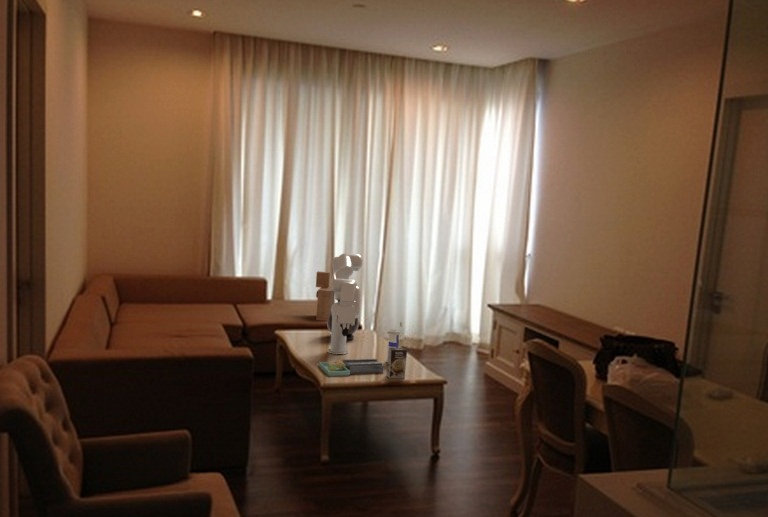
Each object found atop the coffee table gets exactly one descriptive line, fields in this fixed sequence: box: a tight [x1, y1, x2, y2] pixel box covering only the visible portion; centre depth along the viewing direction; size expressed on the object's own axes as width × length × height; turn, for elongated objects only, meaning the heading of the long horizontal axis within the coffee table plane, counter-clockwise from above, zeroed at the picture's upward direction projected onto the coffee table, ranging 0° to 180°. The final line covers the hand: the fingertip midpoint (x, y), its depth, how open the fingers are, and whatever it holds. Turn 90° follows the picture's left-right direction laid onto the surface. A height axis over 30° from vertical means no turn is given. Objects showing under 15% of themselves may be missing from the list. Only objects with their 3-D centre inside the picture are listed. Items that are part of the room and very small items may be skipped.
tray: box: [318, 361, 351, 377], centre depth 381 cm, size 20×12×2 cm, turn 21°
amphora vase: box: [326, 297, 360, 341], centre depth 463 cm, size 22×22×28 cm
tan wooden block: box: [336, 359, 346, 371], centre depth 382 cm, size 4×4×4 cm
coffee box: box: [386, 347, 408, 379], centre depth 377 cm, size 9×6×16 cm
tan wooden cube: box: [327, 361, 337, 371], centre depth 380 cm, size 4×4×4 cm
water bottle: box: [385, 322, 403, 363], centre depth 408 cm, size 8×9×25 cm
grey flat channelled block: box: [341, 358, 384, 375], centre depth 387 cm, size 14×20×5 cm
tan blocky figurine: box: [315, 271, 335, 322], centre depth 526 cm, size 19×14×35 cm
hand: (344, 335), depth 381 cm, fingers closed
